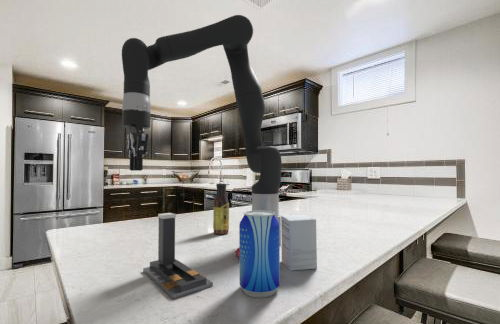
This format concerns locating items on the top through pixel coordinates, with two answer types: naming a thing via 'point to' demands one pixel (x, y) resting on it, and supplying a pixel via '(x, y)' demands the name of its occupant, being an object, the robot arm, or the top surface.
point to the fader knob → (166, 239)
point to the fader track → (176, 278)
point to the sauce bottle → (221, 211)
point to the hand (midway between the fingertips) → (136, 170)
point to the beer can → (259, 253)
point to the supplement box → (299, 242)
